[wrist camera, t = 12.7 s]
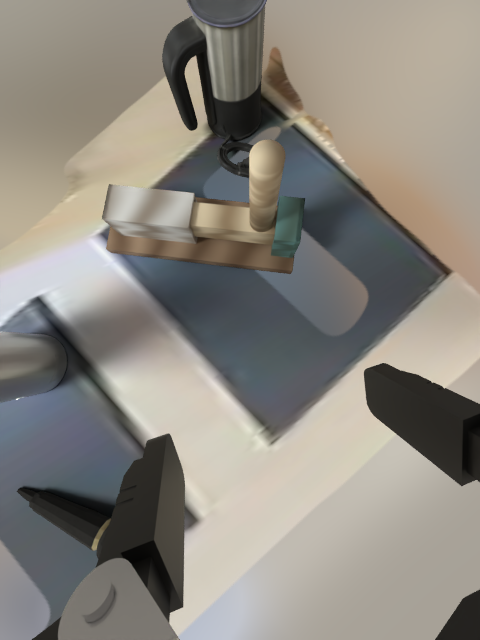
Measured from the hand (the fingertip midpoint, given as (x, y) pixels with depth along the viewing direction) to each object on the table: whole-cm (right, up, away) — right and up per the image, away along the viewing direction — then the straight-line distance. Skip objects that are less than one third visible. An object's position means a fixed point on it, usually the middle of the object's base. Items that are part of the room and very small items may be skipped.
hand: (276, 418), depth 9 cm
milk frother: (-2, +34, +31) cm, 46 cm away
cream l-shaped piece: (-3, +17, +27) cm, 32 cm away
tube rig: (-7, +18, +29) cm, 35 cm away
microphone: (-24, -24, +26) cm, 43 cm away
